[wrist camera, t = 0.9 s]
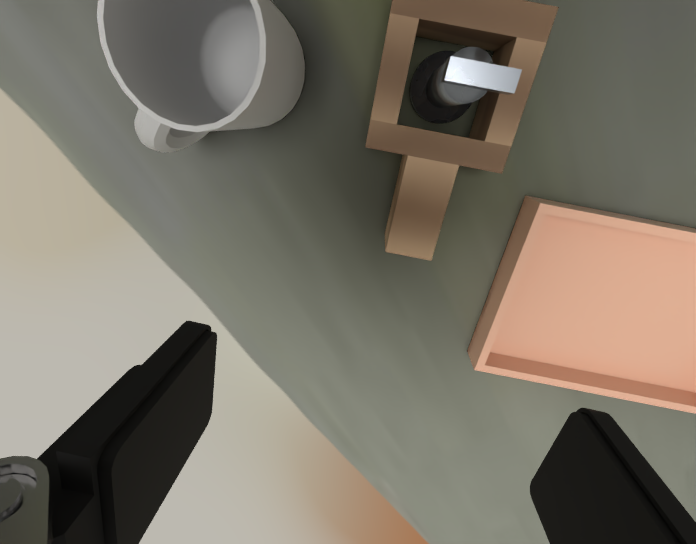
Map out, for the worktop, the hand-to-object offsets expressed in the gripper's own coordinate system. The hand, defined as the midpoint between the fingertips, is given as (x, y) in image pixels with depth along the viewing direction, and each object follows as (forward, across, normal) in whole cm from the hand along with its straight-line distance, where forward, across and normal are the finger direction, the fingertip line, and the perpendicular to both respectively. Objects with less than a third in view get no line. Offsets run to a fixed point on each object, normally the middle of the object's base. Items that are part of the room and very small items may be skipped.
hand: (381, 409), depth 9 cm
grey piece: (+18, -2, -10) cm, 21 cm away
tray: (+19, -19, +2) cm, 27 cm away
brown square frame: (+18, -2, -7) cm, 20 cm away
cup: (+19, +11, -7) cm, 23 cm away
